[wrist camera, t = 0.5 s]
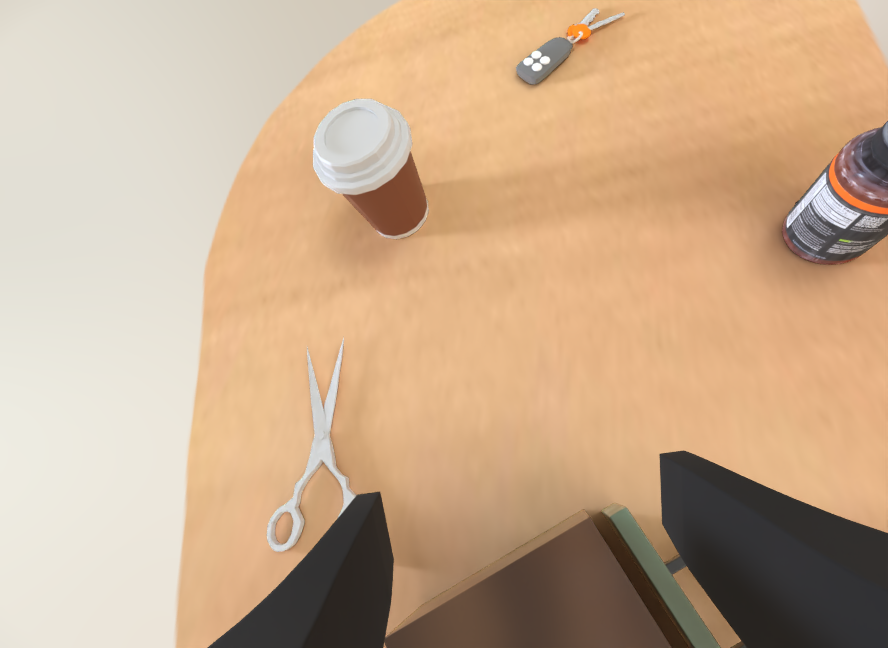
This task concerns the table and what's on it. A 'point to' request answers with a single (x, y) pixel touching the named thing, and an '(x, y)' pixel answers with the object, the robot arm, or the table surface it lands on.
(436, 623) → the cabinet
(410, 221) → the coffee cup
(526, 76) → the key chain
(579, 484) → the table surface
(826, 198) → the supplement bottle
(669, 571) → the drawer
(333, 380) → the scissors
